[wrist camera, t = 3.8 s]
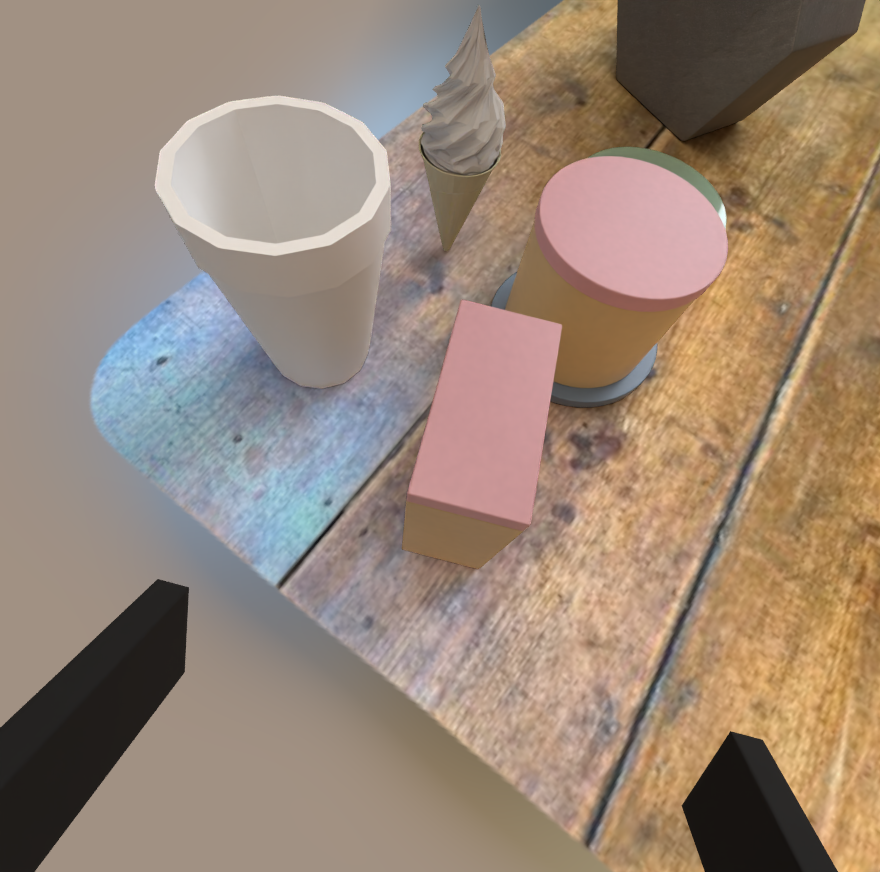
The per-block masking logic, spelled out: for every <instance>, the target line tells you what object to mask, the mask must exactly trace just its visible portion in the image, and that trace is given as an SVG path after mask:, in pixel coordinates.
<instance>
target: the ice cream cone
mask: <svg viewBox="0 0 880 872" xmlns="http://www.w3.org/2000/svg"><path fill="white" fill-rule="evenodd" d="M445 67H446V69H447V70H448V72H449V74H450V77H448V78H447V79H446V81H444V82H443V83H442V84H440V85H438V86H435V87H434V88H433V90H434V91H435V92H436V93H437V95H438V98H437V100H435V101H433V102H430V103H424V104H423V107H424V108H425V109H426V110H427V111H428V112H430V113H431V115H432V121H430V122H428V123H426V124H422V131H424V132H423V133H422V135H421V137H420V139H419V151H420V153H421V156H422V157H423V160H424V164H425V169H426V173H427V178H428V182H429V187H430V192H431V197H432V201H433V206H434V210H435V215H436V219H437V224H438V228H439V233H440V237H441V242H442V246H443V250H444V251H449V250H450V248H451V246H452V244H453V242H454V240H455V239H456V237H457V235H458V233H459V231H460V229H461V228H462V226H463V224H464V222H465V220H466V218H467V216H468V215H469V213H470V211H471V209H472V207H473V205H474V203H475V202H476V200H477V198H478V196H479V194H480V192H481V190H482V189H483V187H484V185H485V183H486V181H487V179H488V177H489V175H490V173H491V171H492V170H493V169H494V168H495V167H496V165H497V164H498V162H499V161H500V157H501V147H502V143H503V133H504V130H505V128H506V125H505V114H504V104H503V102H502V100H501V99H500V98H499V96H498V95H497V93H496V92H495V90H494V88H493V82H494V79H495V77H496V74H495V71H494V68H493V65H492V62H491V59H490V56H489V53H488V48H487V43H486V39H485V33H484V28H483V23H482V17H481V9H480V6H479V5H478V9H477V10H476V13H475V15H474V17H473V19H472V21H471V23H470V25H469V27H468V30H467V32H466V34H465V36H464V38H463V40H462V43H461V45H460V46H459V48H458V50H457V53H456V54H455V55H454V56H453V58H452V59H451V60H450V61H449V62H448V63H447V64H446V65H445Z"/></svg>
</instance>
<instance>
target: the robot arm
mask: <svg viewBox="0 0 880 872" xmlns="http://www.w3.org/2000/svg"><path fill="white" fill-rule="evenodd" d="M188 593H189V587H185V586H181V585H178V584H174V583H170V582H166V581H163V580H159V579H158V580H156V581H155V582H154V583H153V584H152V585H151V586H150V587H149V588H148V589H147V590H146V591H145V592H144V593H143V594H142V595H140V597H138V598H137V599H136V600H135V601H134V602H133V603H132V604H131V605H130V606H129V607H128V608H127V609H126V610H125V611H124V612H122V613H121V614H120V615H119V616H118V617H117V618H116V619H115V620H114V621H113V622H112V623H111V624H110V625H109V626H108V627H107V628H106V629H104V630H103V631H102V632H101V633H100V634H99V635H98V636H97V637H96V638H95V639H94V640H93V641H92V642H91V643H90V644H89V645H88V646H86V647H85V648H84V649H83V650H82V651H81V652H80V653H79V654H78V655H77V656H76V657H75V658H74V659H73V660H72V661H71V662H70V663H68V664H67V665H66V666H65V667H64V668H63V669H62V670H61V671H60V672H59V673H58V674H57V675H56V676H55V677H54V678H53V679H52V680H51V681H49V682H48V683H47V684H46V685H45V686H44V687H43V688H42V689H41V690H40V691H39V692H38V693H37V694H36V695H35V696H34V697H32V698H31V699H30V700H29V701H28V702H27V703H26V704H25V705H24V706H23V707H22V708H21V709H20V710H19V711H18V712H17V713H15V714H14V715H13V716H12V717H11V718H10V719H9V720H8V721H7V722H6V723H5V724H4V725H3V726H2V727H1V728H0V872H35V870H36V869H37V868H38V866H39V865H40V864H41V862H42V861H43V860H44V858H45V857H46V856H47V854H48V853H49V852H50V850H51V849H52V848H53V846H54V845H55V844H56V842H57V841H58V840H59V838H60V837H61V836H62V834H63V833H64V832H65V830H66V829H67V828H68V827H69V825H70V824H71V822H72V821H73V820H74V818H75V817H76V816H77V815H78V813H79V812H80V811H81V809H82V808H83V807H84V805H85V804H86V802H87V801H88V800H89V799H90V797H91V796H92V794H93V793H94V792H95V791H96V789H97V788H98V786H99V785H100V784H101V783H102V781H103V780H104V779H105V777H106V775H108V773H109V772H110V771H111V769H112V768H113V767H114V765H115V764H116V763H117V761H118V760H119V759H120V757H121V756H122V755H123V753H124V752H125V751H126V749H127V748H128V747H129V745H130V744H131V743H132V741H133V740H134V739H135V737H136V736H137V735H138V733H139V732H140V730H141V729H142V728H143V727H144V725H145V724H146V723H147V721H148V720H149V719H150V717H151V716H152V715H153V714H154V712H155V711H156V710H157V708H158V707H159V705H160V704H161V703H162V701H163V700H164V699H165V698H166V696H167V695H168V694H169V692H170V691H171V690H172V688H173V687H174V686H175V684H176V683H177V682H178V680H179V679H180V678H181V676H182V675H183V674H184V672H185V653H186V633H187V613H188ZM682 808H683V811H684V814H685V816H686V819H687V822H688V825H689V828H690V831H691V833H692V836H693V839H694V842H695V845H696V848H697V851H698V853H699V856H700V859H701V862H702V865H703V868H704V870H705V872H838V871H837V869H836V868H835V866H834V864H833V862H832V861H831V859H830V857H829V855H828V854H827V852H826V850H825V848H824V847H823V845H822V843H821V841H820V840H819V838H818V836H817V834H816V833H815V831H814V829H813V827H812V826H811V824H810V822H809V820H808V819H807V817H806V815H805V813H804V812H803V810H802V808H801V806H800V804H799V803H798V801H797V799H796V797H795V796H794V794H793V792H792V790H791V789H790V787H789V785H788V783H787V782H786V780H785V778H784V776H783V775H782V773H781V771H780V769H779V768H778V766H777V764H776V762H775V761H774V759H773V757H772V755H771V754H770V752H769V750H768V748H767V747H766V745H765V743H764V741H763V740H761V739H757V738H753V737H750V736H746V735H742V734H738V733H735V732H731V731H730V733H729V735H728V736H727V738H726V739H725V741H724V742H723V744H722V745H721V747H720V748H719V750H718V751H717V753H716V754H715V756H714V757H713V759H712V760H711V762H710V763H709V765H708V767H707V768H706V770H705V771H704V773H703V774H702V776H701V777H700V779H699V780H698V782H697V783H696V785H695V786H694V788H693V789H692V791H691V792H690V794H689V795H688V797H687V799H686V800H685V802H684V803H683V805H682Z"/></svg>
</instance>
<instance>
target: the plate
mask: <svg viewBox="0 0 880 872" xmlns="http://www.w3.org/2000/svg"><path fill="white" fill-rule="evenodd" d="M602 156H616V157H626V158H633V159H637V160H641V161H645V162H648V163H651V164H654V165H657V166H659V167H662V168H664V169H666V170H668V171H670V172H672V173H674V174H676V175H678V176H679V177H681V178H682V179H684V180H686V181H687V182H688V183H690V184H691V185H692V186H694V187H695V188H696V189H697V190H698V191H699V192H700V193H701V194H703V195H704V196H705V198H706V199H707V200H708V201H709V202H710V203H711V204H712V206H713V207H714V209H715V210H716V211H717V213H718V215H719V217H720V218H721V220H722V222H723V225H724V228H725V229H726V212H725V207H724V205H723V202H722V200H721V198H720V196H719V194H718V193H717V191H716V190H715V189H714V187H713V186H712V185H711V184H710V182H709V181H708V180H707V179H706V178H705V177H704V176H702V175H701V174H700V173H699V172H698V171H696V170H695V169H694V168H692V167H691V166H689V165H688V164H686V163H684V162H682V161H681V160H679V159H677V158H675V157H672V156H670V155H667V154H665V153H662V152H658V151H655V150H651V149H646V148H639V147H616V148H610V149H606V150H602V151H600V152H597V153H595V154H593V155H592V156H590V157H588V158H593V157H602Z"/></svg>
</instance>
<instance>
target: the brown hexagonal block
mask: <svg viewBox="0 0 880 872" xmlns="http://www.w3.org/2000/svg"><path fill="white" fill-rule="evenodd" d="M864 4H865V0H618V13H617V67H616V78H617V80H618V81H619V82H620V83H621V84H622V85H623V86H624V87H625V88H626V89H627V90H628V91H629V92H630V93H631V94H632V95H634V96H635V97H636V98H637V99H638V100H639V101H640V102H641V103H642V104H643V105H644V106H645V107H646V108H647V109H648V110H649V111H650V112H651V113H652V114H654V115H655V116H656V117H657V118H658V119H659V120H660V121H661V122H662V123H663V124H664V125H665V126H666V127H667V128H668V129H669V130H670V131H672V132H673V133H674V134H675V135H676V136H677V137H678V138H679V139H680V140H682V141H686V140H689V139H691V138H694V137H697V136H700V135H703V134H705V133H708V132H711V131H714V130H717V129H719V128H722V127H725V126H728V125H731V124H733V123H736V122H739V121H742V120H743V119H745V118H746V117H747V116H749V115H750V114H751V113H753V112H754V111H755V110H757V109H758V108H759V107H760V106H762V105H763V104H764V103H766V102H767V101H768V100H770V99H771V98H772V97H773V96H775V95H776V94H777V93H779V92H780V91H781V90H783V89H784V88H785V87H786V86H788V85H789V84H790V83H792V82H793V81H794V80H796V79H797V78H798V77H799V76H801V75H802V74H803V73H805V72H806V71H807V70H809V69H810V68H811V67H812V66H814V65H815V64H816V63H818V62H819V61H820V60H822V59H823V58H824V57H825V56H827V55H828V54H829V53H831V52H832V51H833V50H834V49H836V48H837V47H838V46H840V45H841V44H842V43H844V42H845V41H846V40H847V39H849V38H850V37H851V36H853V35H854V34H855V33H856V32H857V30H858V27H859V23H860V19H861V16H862V12H863V8H864Z"/></svg>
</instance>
